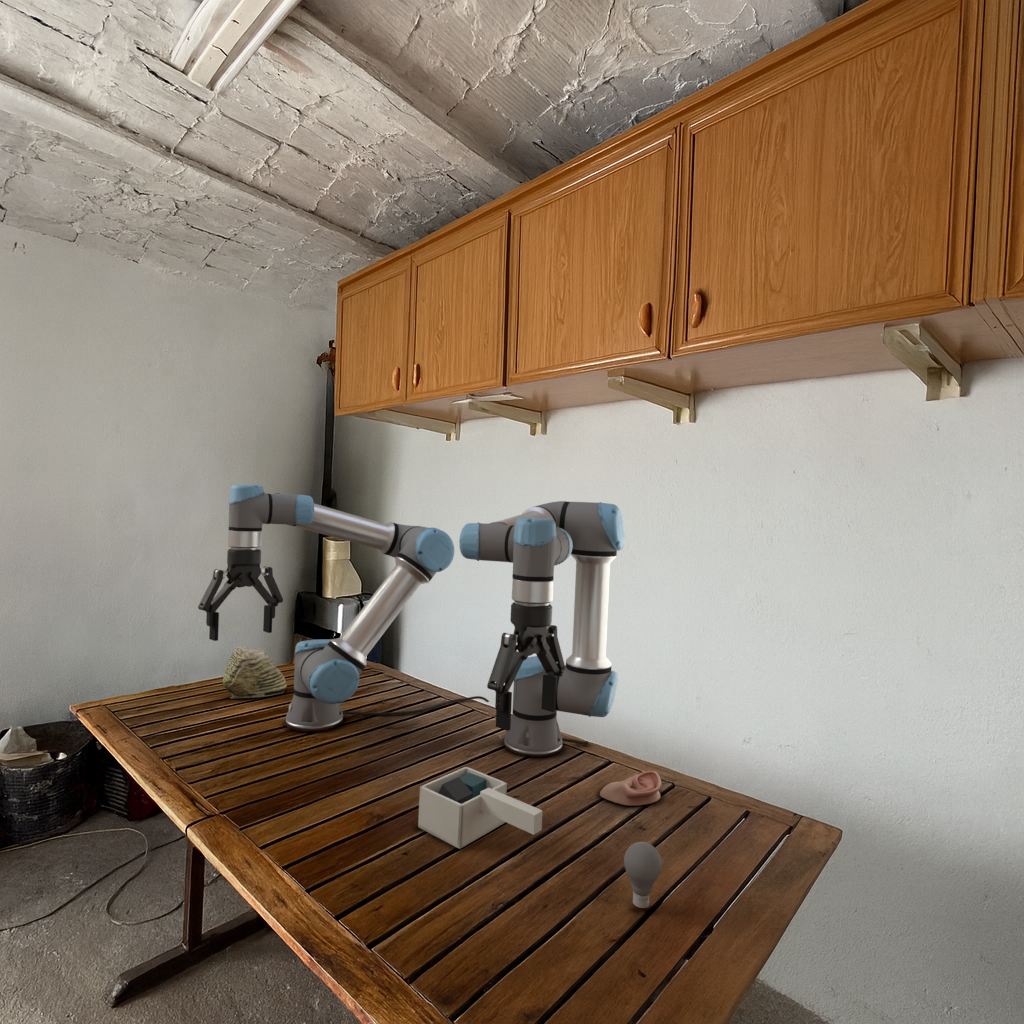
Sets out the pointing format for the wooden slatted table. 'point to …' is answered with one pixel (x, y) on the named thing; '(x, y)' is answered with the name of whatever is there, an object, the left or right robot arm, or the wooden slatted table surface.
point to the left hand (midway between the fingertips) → (241, 635)
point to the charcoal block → (456, 790)
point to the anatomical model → (634, 790)
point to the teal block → (474, 783)
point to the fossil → (252, 674)
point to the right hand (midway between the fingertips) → (526, 719)
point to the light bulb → (642, 870)
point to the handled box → (473, 811)
